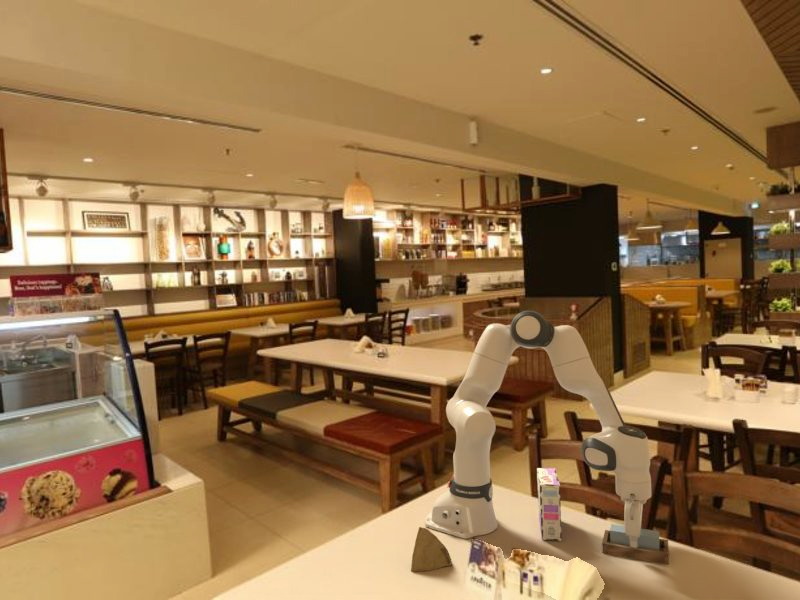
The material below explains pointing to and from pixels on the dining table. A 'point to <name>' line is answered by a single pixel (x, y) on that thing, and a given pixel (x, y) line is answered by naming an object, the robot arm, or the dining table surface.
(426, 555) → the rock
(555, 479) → the candy box
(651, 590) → the dining table surface
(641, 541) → the key block
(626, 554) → the open wooden box
